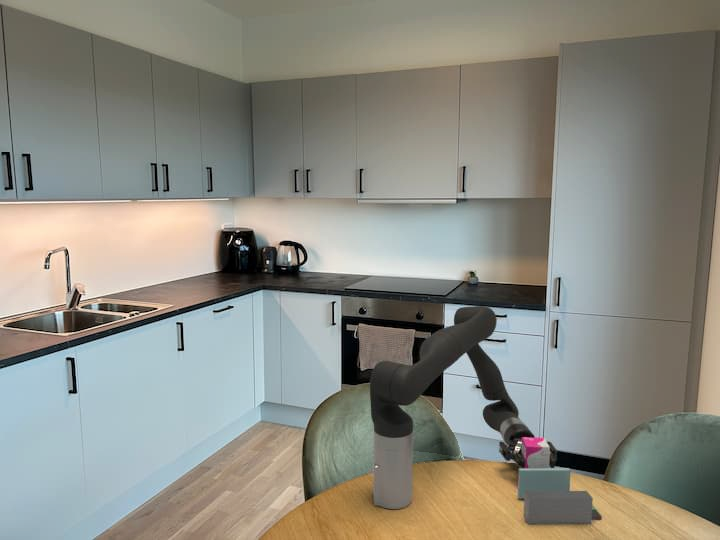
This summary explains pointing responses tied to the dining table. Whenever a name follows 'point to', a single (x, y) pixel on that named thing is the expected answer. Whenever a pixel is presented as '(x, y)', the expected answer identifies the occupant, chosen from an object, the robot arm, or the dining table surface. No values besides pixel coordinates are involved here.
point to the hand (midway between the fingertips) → (538, 464)
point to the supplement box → (535, 452)
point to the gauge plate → (543, 480)
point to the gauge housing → (559, 507)
